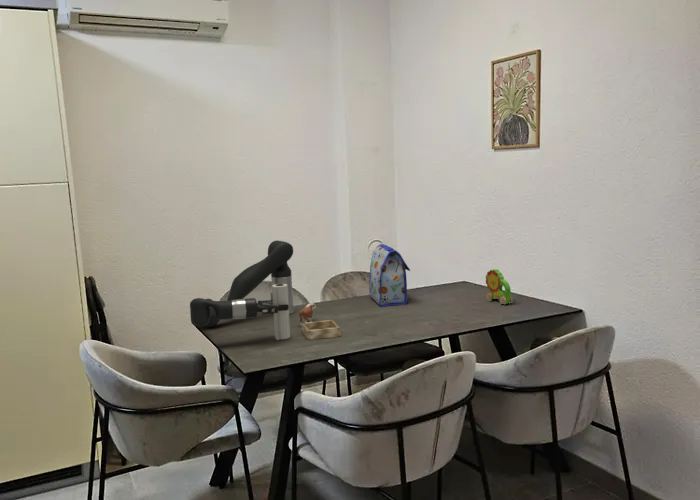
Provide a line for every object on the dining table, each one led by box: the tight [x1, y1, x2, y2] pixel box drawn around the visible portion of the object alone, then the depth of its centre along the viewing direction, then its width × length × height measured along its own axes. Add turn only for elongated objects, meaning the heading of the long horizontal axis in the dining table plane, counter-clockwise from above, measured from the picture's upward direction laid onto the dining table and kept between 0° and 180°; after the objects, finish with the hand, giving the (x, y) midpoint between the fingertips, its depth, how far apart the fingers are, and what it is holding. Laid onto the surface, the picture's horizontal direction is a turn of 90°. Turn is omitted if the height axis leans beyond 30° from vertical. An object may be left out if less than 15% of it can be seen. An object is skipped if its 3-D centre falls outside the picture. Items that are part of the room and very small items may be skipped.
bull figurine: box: [298, 301, 317, 327], centre depth 264 cm, size 4×13×8 cm, turn 161°
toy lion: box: [485, 269, 514, 305], centre depth 288 cm, size 16×5×15 cm, turn 25°
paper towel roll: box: [271, 284, 291, 342], centre depth 243 cm, size 7×6×21 cm
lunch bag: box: [368, 243, 411, 307], centre depth 299 cm, size 23×17×27 cm
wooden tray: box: [301, 319, 341, 341], centre depth 248 cm, size 13×13×4 cm
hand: (286, 305), depth 243 cm, fingers open, 6 cm apart
